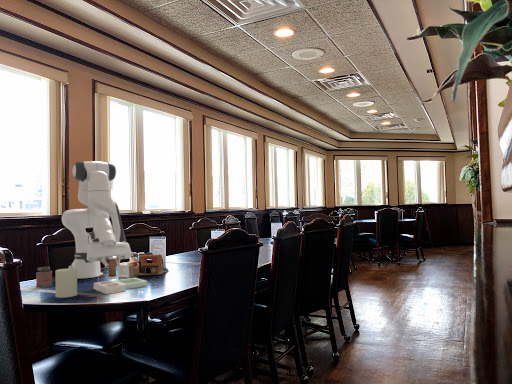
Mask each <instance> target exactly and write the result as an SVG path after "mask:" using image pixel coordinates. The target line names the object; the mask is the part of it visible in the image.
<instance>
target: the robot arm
mask: <svg viewBox="0 0 512 384" xmlns="http://www.w3.org/2000/svg"><path fill="white" fill-rule="evenodd" d="M116 175H117V169H116V165H115V164H114V163H112V162H109V161H107V162H106V161H99V160H94V161H93V160H88V161H87V160H86V161H83V160H79V161H76V162H75V163H74V164H73V167H72V176H73V179H75V180H76V181H78V182H79V183H78V191H77V199H78V202H79V203H81V204H82V205H84V206H86V207H87V208H73V209H67V210H65V211H64V212H63V213H62V215H61V222H62V224H63V226H64V227H65V228H67V229H68V230H69V231H70V232H71V234H72V235H73V237H74V242H75V253H74V260H73V262H72V263H71V265H68V269H69V268H74V269H77V279H89V278H96V277H100V276H103V275H104V272H101V263H102V264H103V265H104V267H105V268H108V267H109V262H108V257H110V256H117V259H116V267H120V266H121V260H126V259H131V257H132V254H133V251H132V250H131V246H130V243H128V242H127V238H126V235H125V232H124V227H123V223H122V218H121V214H120V209H119V206H118V204H117V202H115V201H114V200H113V197H112V195H111V185H110V184H111V183H110V181H114V180H115V177H116ZM110 219H111V221H110ZM91 228H92V229H93V230H92V231H91V232H90V233H88V232H87V231H86V230H87V229H91Z"/></svg>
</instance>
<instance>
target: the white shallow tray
mask: <svg viewBox="0 0 512 384" xmlns="http://www.w3.org/2000/svg"><path fill="white" fill-rule="evenodd" d="M93 290H95V291H97V292H99V293H100V292H101V293H103V294H106V295H109V294H114V293H115V294H116V293H120V292H125V291H126V289H125V284H122V283H118V282H115V281H114V280H106V281H99V282H93Z"/></svg>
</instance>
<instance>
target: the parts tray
mask: <svg viewBox="0 0 512 384" xmlns="http://www.w3.org/2000/svg"><path fill="white" fill-rule="evenodd" d="M113 281H115V282H118V283H122V284H125V290H130V289H136V288H143V287H144V288H145V287H147V286H148V280H145V279H141V278H137V277H131V278H122V279H113Z"/></svg>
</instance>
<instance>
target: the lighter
mask: <svg viewBox="0 0 512 384" xmlns="http://www.w3.org/2000/svg"><path fill="white" fill-rule="evenodd" d="M37 271H38V272H36V273H35V275H36V278H35V279H36V283H35V288H36V289H42V288H48V287H53V270H51V267H50V266H43V267H37Z"/></svg>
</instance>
